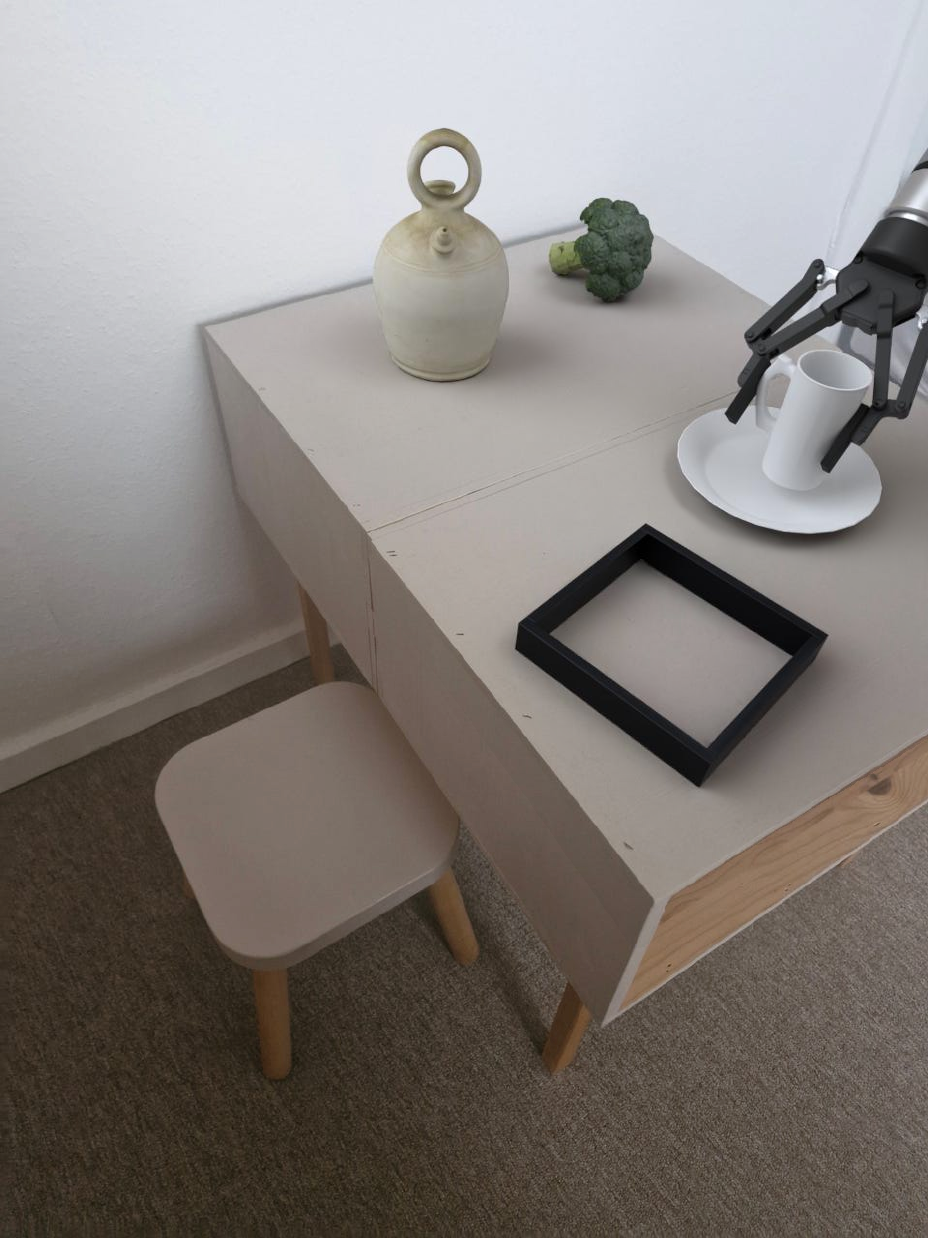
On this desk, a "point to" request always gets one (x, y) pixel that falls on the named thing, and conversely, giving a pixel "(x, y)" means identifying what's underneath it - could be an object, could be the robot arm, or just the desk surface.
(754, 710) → the black square frame
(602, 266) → the vegetable
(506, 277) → the jug
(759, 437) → the plate
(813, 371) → the mug
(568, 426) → the desk surface
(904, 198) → the robot arm
